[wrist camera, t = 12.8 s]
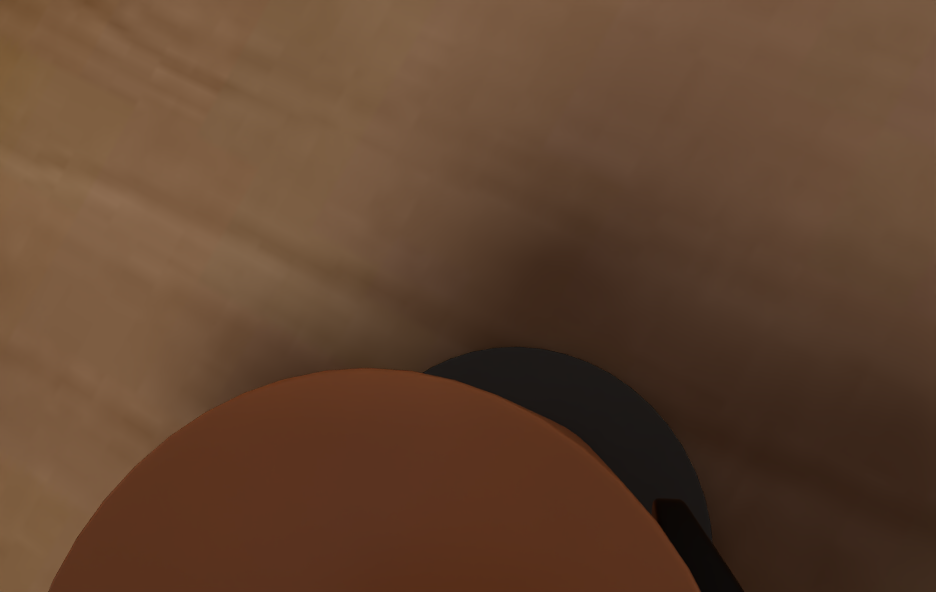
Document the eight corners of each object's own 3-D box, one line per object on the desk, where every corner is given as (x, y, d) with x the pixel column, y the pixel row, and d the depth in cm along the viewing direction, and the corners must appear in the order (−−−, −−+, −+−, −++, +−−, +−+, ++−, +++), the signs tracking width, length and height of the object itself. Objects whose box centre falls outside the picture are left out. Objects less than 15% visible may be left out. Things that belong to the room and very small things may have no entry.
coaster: (768, 441, 14) (773, 442, 14) (619, 823, 14) (620, 835, 13) (429, 294, 17) (426, 291, 16) (279, 617, 16) (272, 623, 15)
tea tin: (654, 617, 14) (917, 1240, 3) (431, 665, 14) (20, 1330, 4) (587, 388, 15) (615, 284, 4) (385, 441, 16) (-17, 460, 5)
